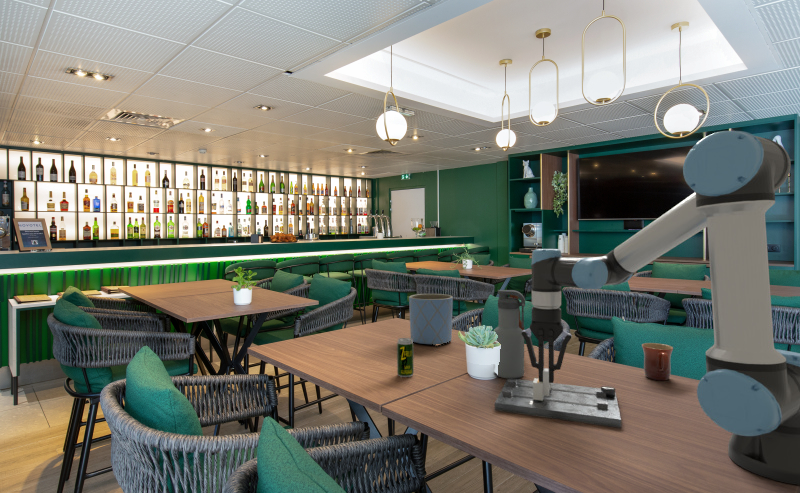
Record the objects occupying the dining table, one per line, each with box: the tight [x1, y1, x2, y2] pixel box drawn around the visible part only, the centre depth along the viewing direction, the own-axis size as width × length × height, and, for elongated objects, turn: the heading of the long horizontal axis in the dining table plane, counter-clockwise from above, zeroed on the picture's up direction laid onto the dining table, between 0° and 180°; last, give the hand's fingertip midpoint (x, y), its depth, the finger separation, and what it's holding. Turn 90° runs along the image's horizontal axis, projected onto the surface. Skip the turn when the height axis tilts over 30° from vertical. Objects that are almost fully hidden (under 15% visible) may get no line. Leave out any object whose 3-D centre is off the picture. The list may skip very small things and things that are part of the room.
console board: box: [494, 378, 622, 429], centre depth 122 cm, size 22×30×4 cm
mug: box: [641, 342, 674, 381], centre depth 141 cm, size 12×9×10 cm
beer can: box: [396, 337, 415, 378], centre depth 147 cm, size 5×5×12 cm
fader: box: [532, 377, 544, 401], centre depth 120 cm, size 4×2×5 cm, turn 157°
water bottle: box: [493, 289, 526, 380], centre depth 147 cm, size 10×10×28 cm
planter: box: [408, 293, 454, 346], centre depth 194 cm, size 19×19×20 cm
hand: (546, 393), depth 119 cm, fingers closed
